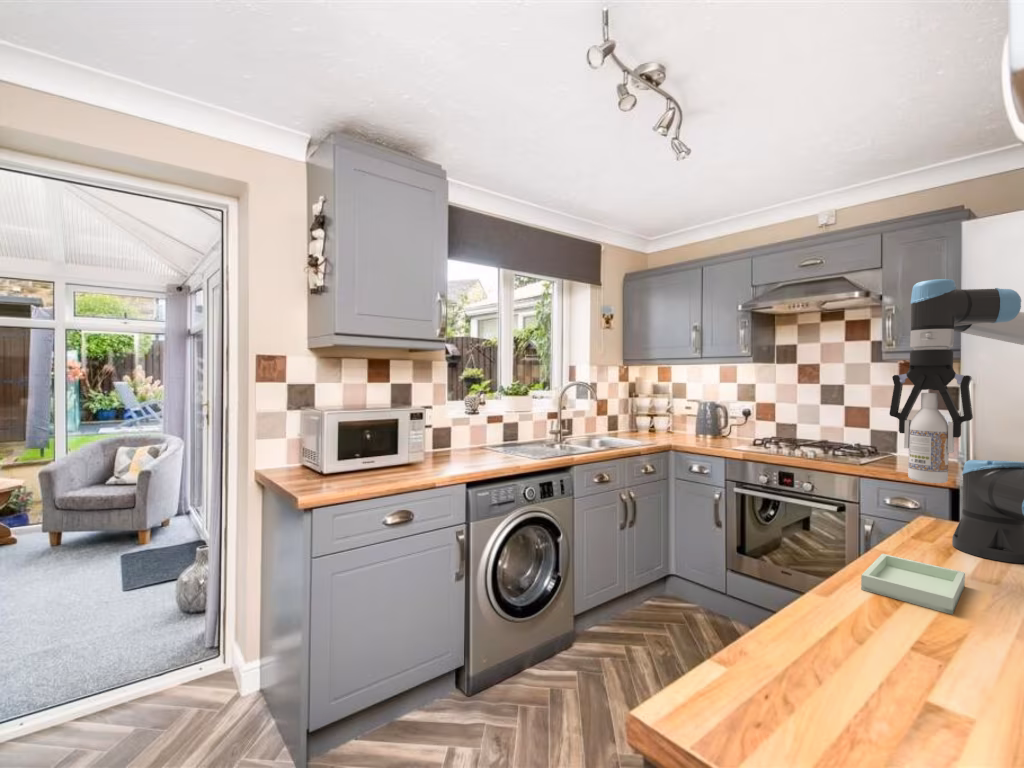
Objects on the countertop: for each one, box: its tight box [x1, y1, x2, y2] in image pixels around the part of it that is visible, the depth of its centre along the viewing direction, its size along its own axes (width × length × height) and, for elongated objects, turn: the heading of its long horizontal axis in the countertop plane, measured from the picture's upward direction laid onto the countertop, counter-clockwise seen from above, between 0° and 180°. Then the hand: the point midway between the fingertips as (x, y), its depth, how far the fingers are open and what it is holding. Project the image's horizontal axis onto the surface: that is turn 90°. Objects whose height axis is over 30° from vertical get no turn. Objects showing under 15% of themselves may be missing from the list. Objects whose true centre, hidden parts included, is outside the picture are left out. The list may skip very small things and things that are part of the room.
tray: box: [860, 553, 966, 616], centre depth 101 cm, size 18×14×3 cm
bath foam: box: [907, 392, 950, 484], centre depth 111 cm, size 7×7×20 cm
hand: (928, 449), depth 111 cm, fingers closed on bath foam, 7 cm apart
